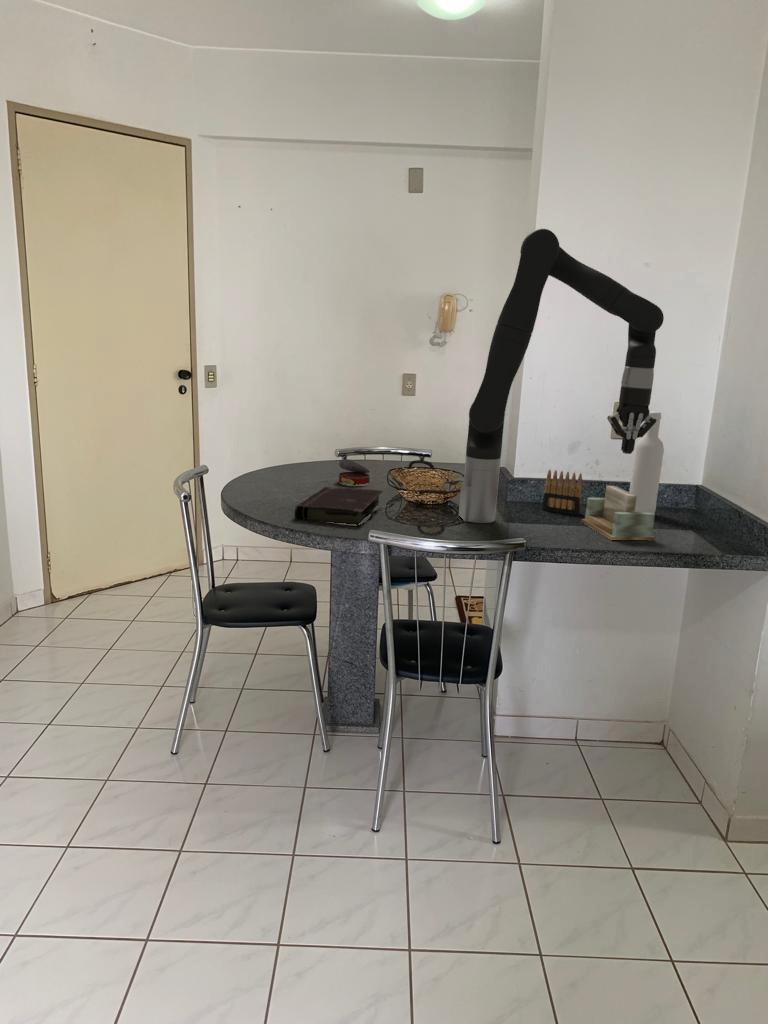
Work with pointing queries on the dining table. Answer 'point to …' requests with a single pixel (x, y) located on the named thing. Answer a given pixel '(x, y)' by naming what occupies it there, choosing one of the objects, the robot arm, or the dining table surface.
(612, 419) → the robot arm
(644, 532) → the slat holder
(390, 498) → the dining table surface
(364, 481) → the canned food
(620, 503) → the ash slat
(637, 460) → the bottle
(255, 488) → the dining table surface
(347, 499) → the diary
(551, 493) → the ammunition clip
